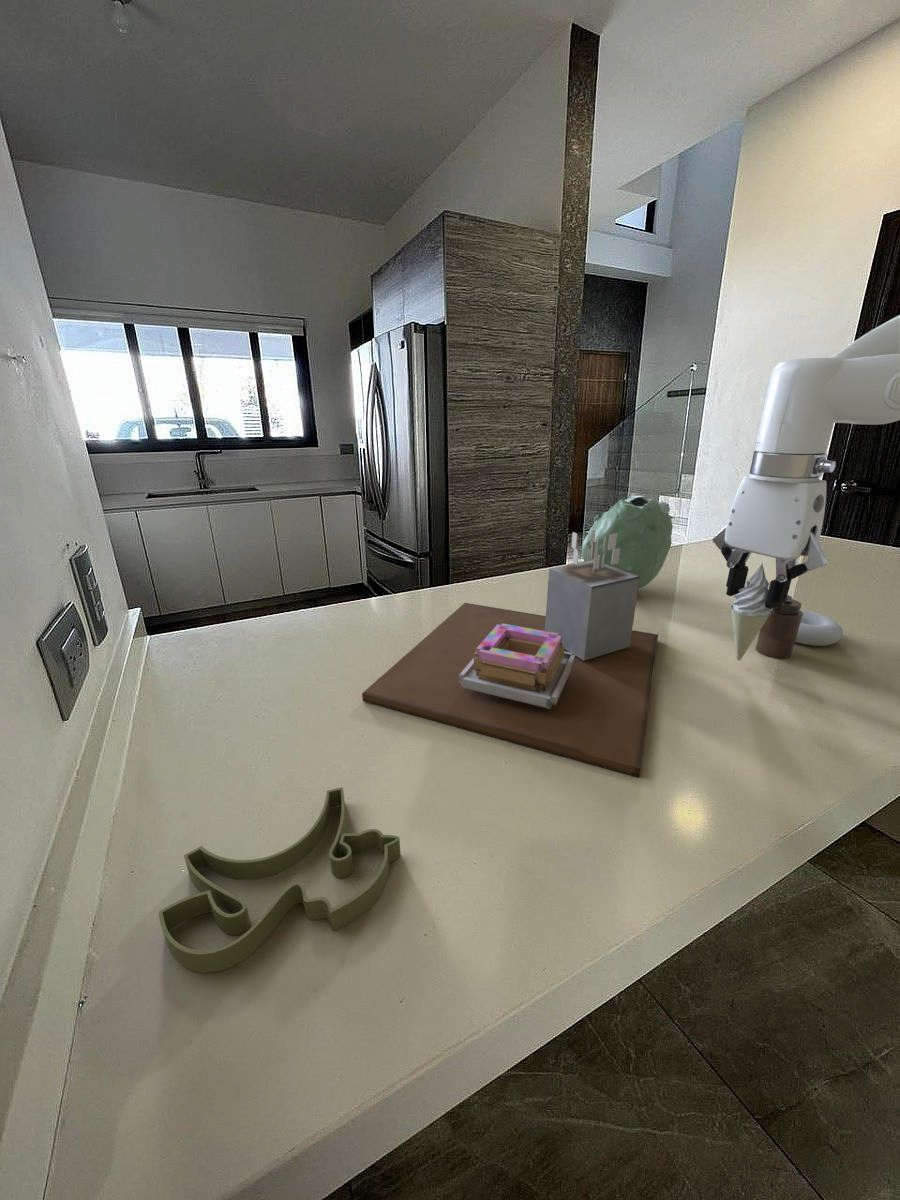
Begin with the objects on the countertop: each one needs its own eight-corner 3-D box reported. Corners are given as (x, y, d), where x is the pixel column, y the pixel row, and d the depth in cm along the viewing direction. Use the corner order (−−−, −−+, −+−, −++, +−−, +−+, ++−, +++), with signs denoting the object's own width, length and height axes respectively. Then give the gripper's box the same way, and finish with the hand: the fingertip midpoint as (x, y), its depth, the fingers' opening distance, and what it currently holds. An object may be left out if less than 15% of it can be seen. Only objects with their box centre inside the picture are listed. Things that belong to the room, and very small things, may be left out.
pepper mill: (787, 647, 77) (803, 592, 74) (793, 661, 73) (811, 603, 70) (753, 642, 79) (767, 588, 76) (757, 655, 75) (772, 598, 72)
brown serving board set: (638, 777, 51) (667, 611, 44) (362, 700, 64) (350, 565, 57) (656, 640, 80) (676, 528, 73) (464, 608, 94) (465, 511, 87)
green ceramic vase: (561, 587, 104) (569, 494, 97) (620, 572, 113) (631, 486, 106) (620, 611, 92) (634, 506, 84) (680, 591, 101) (697, 496, 94)
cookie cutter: (360, 792, 49) (358, 776, 48) (418, 881, 40) (417, 864, 39) (160, 881, 40) (154, 864, 39) (174, 1024, 31) (166, 1005, 30)
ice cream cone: (765, 662, 70) (791, 565, 65) (745, 671, 68) (770, 571, 62) (732, 648, 74) (753, 556, 69) (712, 657, 72) (732, 561, 66)
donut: (779, 619, 88) (758, 634, 82) (784, 602, 87) (763, 615, 81) (846, 638, 81) (829, 655, 75) (852, 619, 79) (836, 635, 73)
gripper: (880, 471, 56) (835, 615, 62) (737, 459, 69) (713, 578, 76) (848, 476, 52) (804, 627, 59) (704, 463, 66) (682, 587, 73)
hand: (753, 598), depth 68 cm, fingers closed on ice cream cone, 4 cm apart
